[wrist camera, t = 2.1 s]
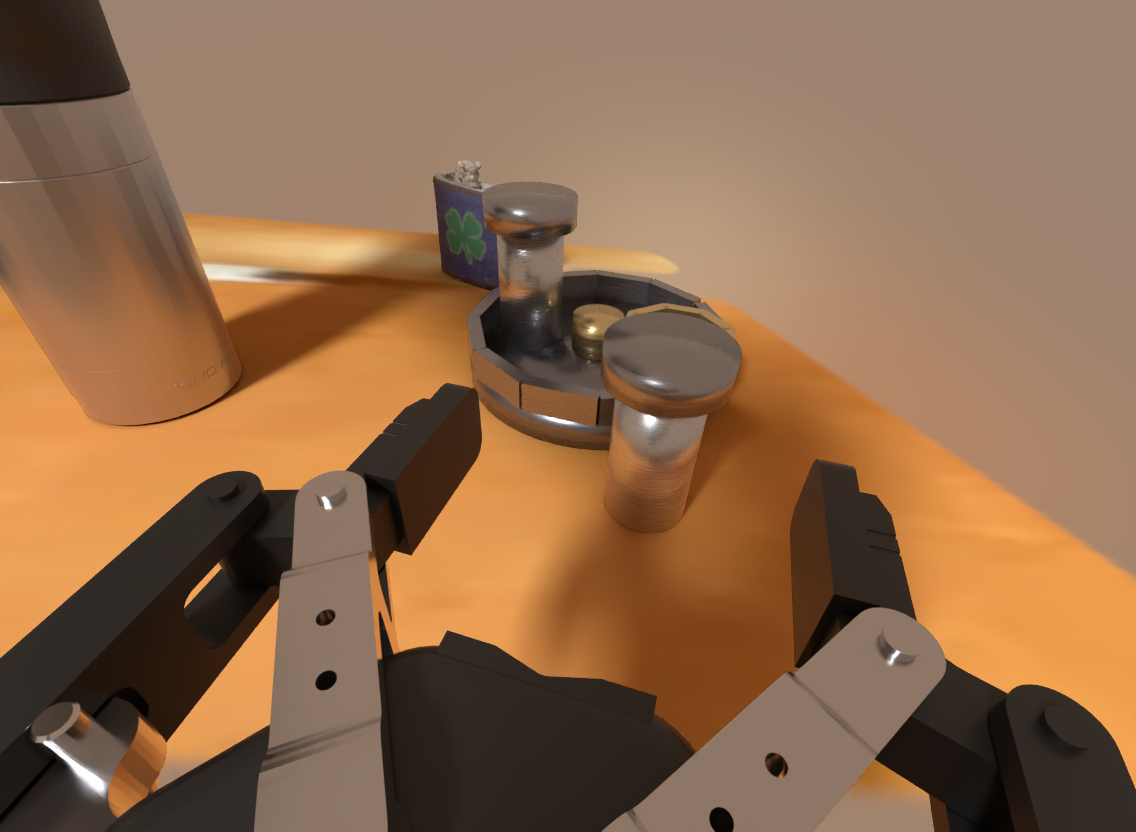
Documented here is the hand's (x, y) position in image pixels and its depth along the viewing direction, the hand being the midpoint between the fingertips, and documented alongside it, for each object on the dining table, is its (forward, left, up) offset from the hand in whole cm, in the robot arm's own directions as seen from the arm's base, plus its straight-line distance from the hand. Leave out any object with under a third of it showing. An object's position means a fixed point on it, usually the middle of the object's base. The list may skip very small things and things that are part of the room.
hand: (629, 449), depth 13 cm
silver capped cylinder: (0, +11, -13) cm, 17 cm away
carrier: (-6, +23, -13) cm, 28 cm away
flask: (-21, +35, -13) cm, 43 cm away
